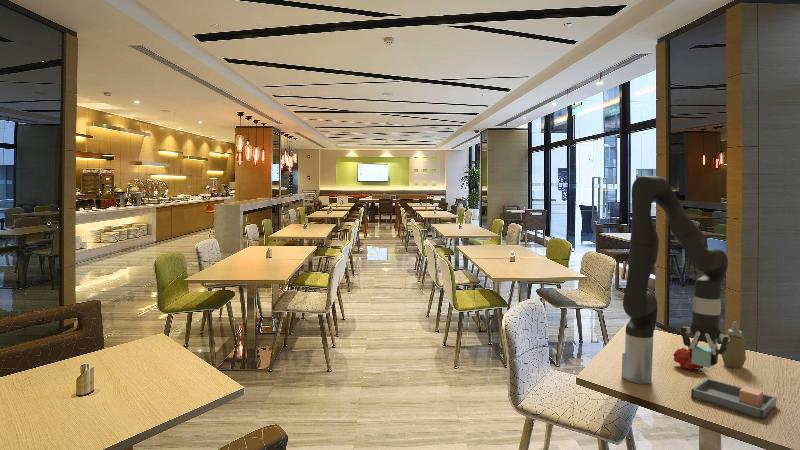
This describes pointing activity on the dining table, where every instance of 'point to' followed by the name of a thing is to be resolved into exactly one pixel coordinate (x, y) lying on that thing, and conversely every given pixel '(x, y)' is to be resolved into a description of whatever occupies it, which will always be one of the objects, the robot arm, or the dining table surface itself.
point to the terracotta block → (751, 397)
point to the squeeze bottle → (735, 348)
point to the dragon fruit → (685, 359)
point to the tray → (730, 398)
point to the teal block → (701, 356)
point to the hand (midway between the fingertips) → (703, 362)
